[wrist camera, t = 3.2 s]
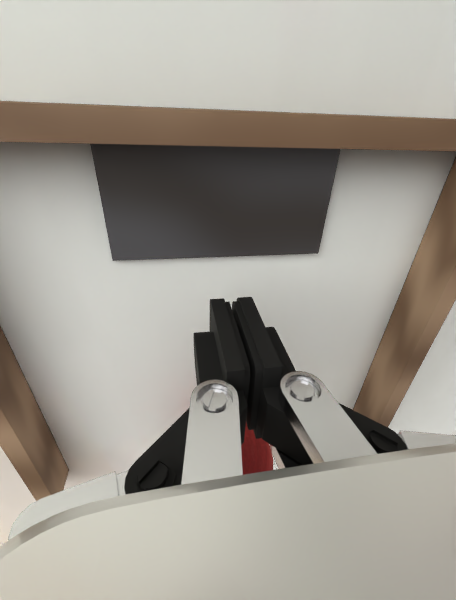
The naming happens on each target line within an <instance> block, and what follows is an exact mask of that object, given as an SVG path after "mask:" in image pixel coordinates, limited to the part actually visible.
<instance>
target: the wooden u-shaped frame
mask: <svg viewBox="0 0 456 600" xmlns="http://www.w3.org/2000/svg"><path fill="white" fill-rule="evenodd" d="M0 142H40V143H88V144H91V149H92V154H93V159H94V165H95V170H96V175H97V180H98V186H99V191H100V196H101V201H102V207H103V212H104V217H105V222H106V228H107V233H108V238H109V243H110V249H111V254H112V259H113V261H116V260H144V259H172V258H200V257H229V256H257V255H285V254H313V253H318V252H319V247H320V242H321V238H322V233H323V228H324V224H325V219H326V214H327V210H328V205H329V200H330V196H331V191H332V186H333V182H334V177H335V172H336V168H337V163H338V158H339V154H340V149H373V150H420V151H456V119H442V118H416V117H391V116H366V115H341V114H316V113H291V112H266V111H240V110H215V109H190V108H165V107H140V106H115V105H90V104H65V103H39V102H14V101H0ZM455 300H456V158H455V160H454V163H453V165H452V168H451V170H450V173H449V175H448V177H447V180H446V182H445V185H444V187H443V190H442V192H441V195H440V197H439V200H438V202H437V204H436V207H435V209H434V212H433V214H432V217H431V219H430V222H429V224H428V227H427V229H426V232H425V234H424V236H423V239H422V241H421V244H420V246H419V249H418V251H417V254H416V256H415V259H414V261H413V263H412V266H411V268H410V271H409V273H408V276H407V278H406V281H405V283H404V286H403V288H402V290H401V293H400V295H399V298H398V300H397V303H396V305H395V308H394V310H393V313H392V315H391V318H390V320H389V322H388V325H387V327H386V330H385V332H384V335H383V337H382V340H381V342H380V345H379V347H378V349H377V352H376V354H375V357H374V359H373V362H372V364H371V367H370V369H369V372H368V374H367V377H366V379H365V381H364V384H363V386H362V389H361V391H360V394H359V396H358V399H357V401H356V404H355V406H354V408H353V410H354V411H356V412H358V413H360V414H362V415H364V416H366V417H368V418H370V419H372V420H374V421H376V422H378V423H380V424H382V425H384V426H386V427H388V426H389V424H390V422H391V420H392V418H393V417H394V415H395V413H396V411H397V409H398V407H399V405H400V403H401V401H402V400H403V398H404V396H405V394H406V392H407V390H408V388H409V386H410V385H411V383H412V381H413V379H414V377H415V375H416V373H417V371H418V369H419V368H420V366H421V364H422V362H423V360H424V358H425V356H426V354H427V353H428V351H429V349H430V347H431V345H432V343H433V341H434V339H435V337H436V336H437V334H438V332H439V330H440V328H441V326H442V324H443V322H444V321H445V319H446V317H447V315H448V313H449V311H450V309H451V307H452V306H453V304H454V302H455ZM0 446H1V448H2V449H3V451H4V452H5V454H6V455H7V457H8V458H9V460H10V461H11V463H12V464H13V466H14V467H15V469H16V470H17V472H18V474H19V475H20V477H21V478H22V480H23V481H24V483H25V484H26V486H27V487H28V489H29V490H30V492H31V493H32V495H33V496H34V498H35V500H36V501H38V500H39V499H41V498H44V497H47V496H50V495H52V494H55V493H58V492H60V491H63V489H64V485H65V482H66V478H67V475H68V471H69V470H68V467H67V465H66V463H65V461H64V459H63V457H62V455H61V453H60V451H59V449H58V446H57V444H56V442H55V440H54V438H53V436H52V434H51V432H50V430H49V428H48V425H47V423H46V421H45V419H44V417H43V415H42V413H41V411H40V409H39V407H38V404H37V402H36V400H35V398H34V396H33V394H32V392H31V390H30V388H29V386H28V383H27V381H26V379H25V377H24V375H23V373H22V371H21V369H20V367H19V364H18V362H17V360H16V358H15V356H14V354H13V352H12V350H11V348H10V346H9V343H8V341H7V339H6V337H5V335H4V333H3V331H2V329H1V327H0Z"/></svg>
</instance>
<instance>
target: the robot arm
mask: <svg viewBox="0 0 456 600" xmlns="http://www.w3.org/2000/svg"><path fill="white" fill-rule="evenodd" d="M194 356H195V369H196V378H197V386H196V388H195V389H194V390H193V392H192V395H191V401H190V408H189V409H188V410H187V411H186V412H185V413H184V414H183V415H182V416H181V417H180V418H179V419H178V420H177V421H176V422H175V423H174V424H173V425H172V426H171V427H170V428H169V429H168V430H167V431H166V432H165V433H164V434H163V435H162V436H161V437H160V438H159V439H158V440H157V441H156V442H155V443H154V444H153V445H152V446H151V447H150V448H149V449H148V450H147V451H146V452H145V453H144V454H143V455H142V456H141V457H140V458H139V459H138V460H137V461H136V462H135V463H134V464H133V465H132V466H131V468H130V469H129V470H128V471H125V472H122V473H120V474H117V475H116V472H112V473H109V474H107V475H104V476H101V477H98V478H96V479H93V480H90V481H88V482H85V483H82V484H79V485H77V486H74V487H71V488H69V489H66V490H63V491H60V492H58V493H55V494H52V495H50V496H47V497H44V498H41V499H39V500H38V501H36V502H34V503H32V504H30V505H29V506H28V507H27V508H26V509H25V510H24V511H23V512H21V513H20V515H19V516H18V518H17V519H16V521H15V522H14V523H13V525H12V528H11V531H10V534H9V538H8V541H7V542H5V543H4V544H2V545H1V546H0V600H456V435H446V434H434V433H423V432H411V431H400V432H399V434H396V433H395V432H394V431H393V430H391V429H389V428H388V427H386V426H384V425H382V424H380V423H378V422H376V421H374V420H372V419H370V418H368V417H366V416H364V415H362V414H360V413H358V412H356V411H354V410H352V409H350V408H348V407H346V406H344V405H342V404H340V403H338V402H337V401H336V399H335V398H334V397H333V396H332V394H331V393H330V392H329V390H328V389H327V388H326V386H325V385H324V384H323V383H322V382H321V381H320V380H319V379H318V378H317V377H315V376H314V375H312V374H309V373H307V372H302V371H295V368H294V366H293V364H292V362H291V360H290V358H289V356H288V354H287V352H286V350H285V348H284V346H283V344H282V342H281V340H280V338H279V336H278V334H277V332H276V330H275V328H274V327H265V326H264V323H263V321H262V319H261V317H260V314H259V312H258V310H257V308H256V306H255V303H254V301H253V299H252V297H243V298H237V301H235V302H233V303H232V309H231V306H230V303H229V302H225V300H224V299H210V332H200V333H194ZM246 423H247V427H248V429H249V430H254V434H255V438H256V439H259V438H262V439H263V440H264V441H266V442H267V443H269V444H270V449H271V453H272V455H273V457H274V459H275V462H276V464H277V466H278V468H279V469H277V470H270V471H264V472H257V473H251V474H245V475H243V471H242V453H241V445H242V444H243V443H244V437H245V426H246Z"/></svg>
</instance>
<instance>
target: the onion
mask: <svg viewBox="0 0 456 600" xmlns="http://www.w3.org/2000/svg"><path fill="white" fill-rule="evenodd" d="M241 453H242V471H243V475H245V474H251V473H257V472H264V471H270V470H273V457H272V453H271V449H270V445H269V443H267V442H266V441H264V440H263V439H262V438H259V439H256V438H255V434H254V430H249V429H248V427H247V423H246V426H245V437H244V443H243V444H242V445H241Z"/></svg>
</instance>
